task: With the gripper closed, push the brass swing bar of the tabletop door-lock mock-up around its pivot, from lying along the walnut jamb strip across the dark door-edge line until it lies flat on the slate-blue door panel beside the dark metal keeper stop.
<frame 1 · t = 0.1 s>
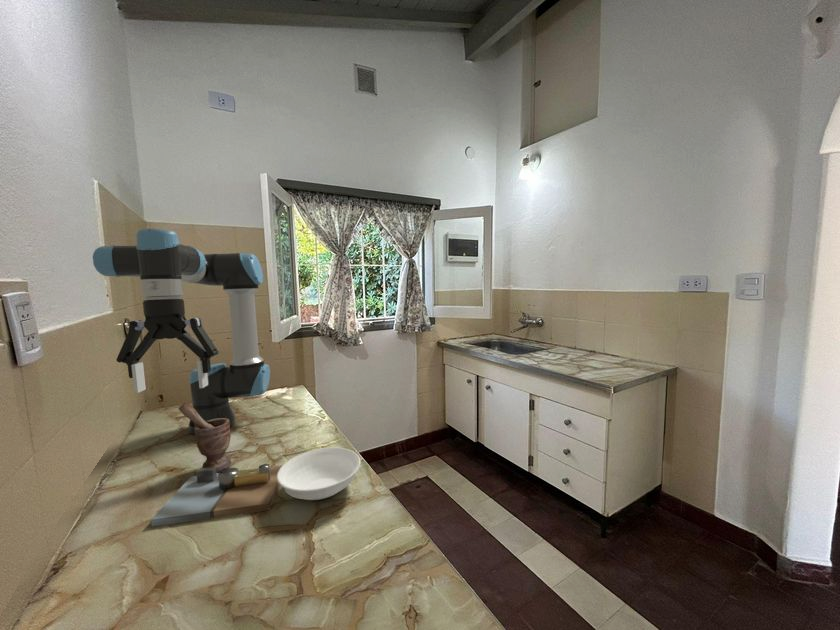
hand: (172, 389, 78), 28 cm above the countertop, fingers open, 13 cm apart
mortar and pestle: (210, 469, 95), on the countertop
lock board: (227, 494, 82), on the countertop
swing bar: (244, 475, 84), point 4 cm above the countertop, hinge at 0.0°
bowl: (321, 491, 83), on the countertop
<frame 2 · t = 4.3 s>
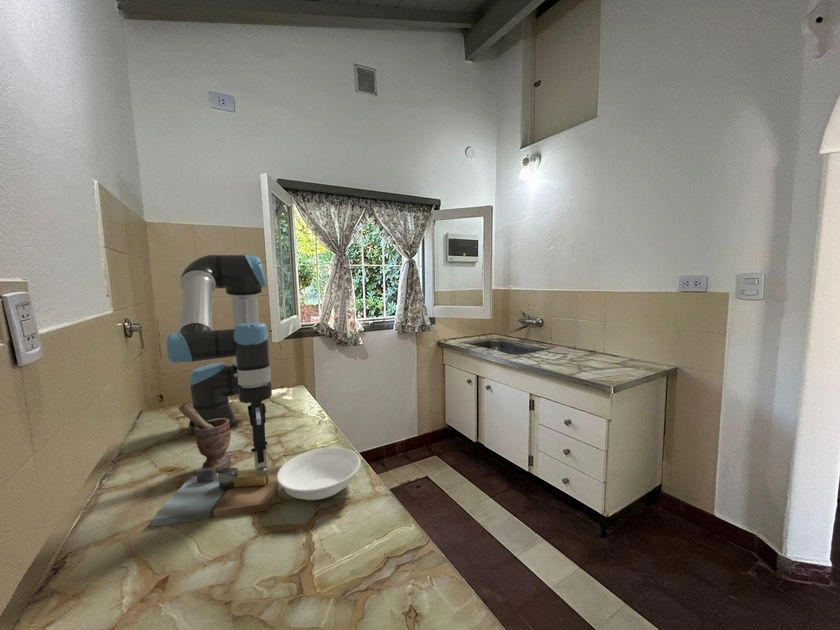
hand: (261, 472, 86), 3 cm above the countertop, fingers closed
swing bar: (243, 476, 83), point 4 cm above the countertop, hinge at 8.4°, touching gripper
everything else where it was.
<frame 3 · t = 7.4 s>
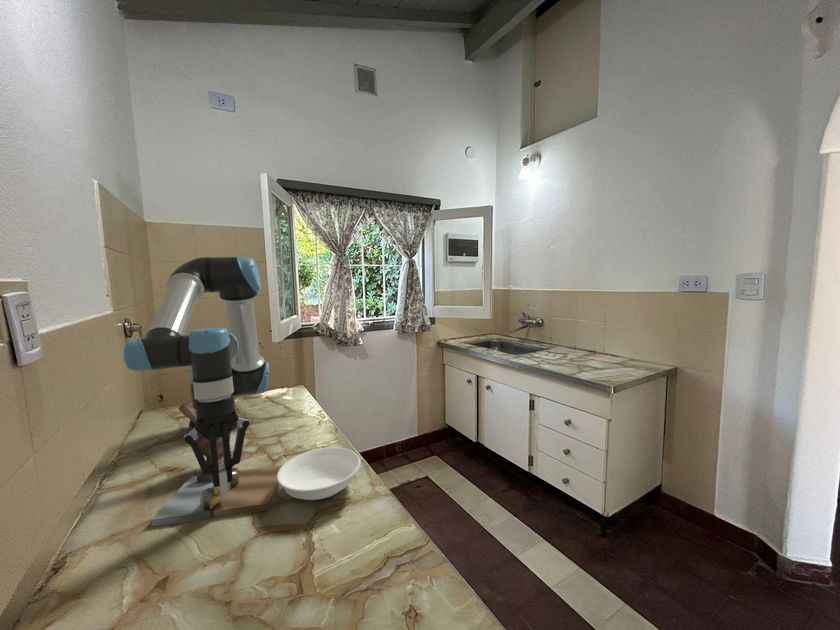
hand: (224, 496, 76), 3 cm above the countertop, fingers closed
swing bar: (220, 486, 80), point 4 cm above the countertop, hinge at 97.2°, touching gripper
everything else where it was.
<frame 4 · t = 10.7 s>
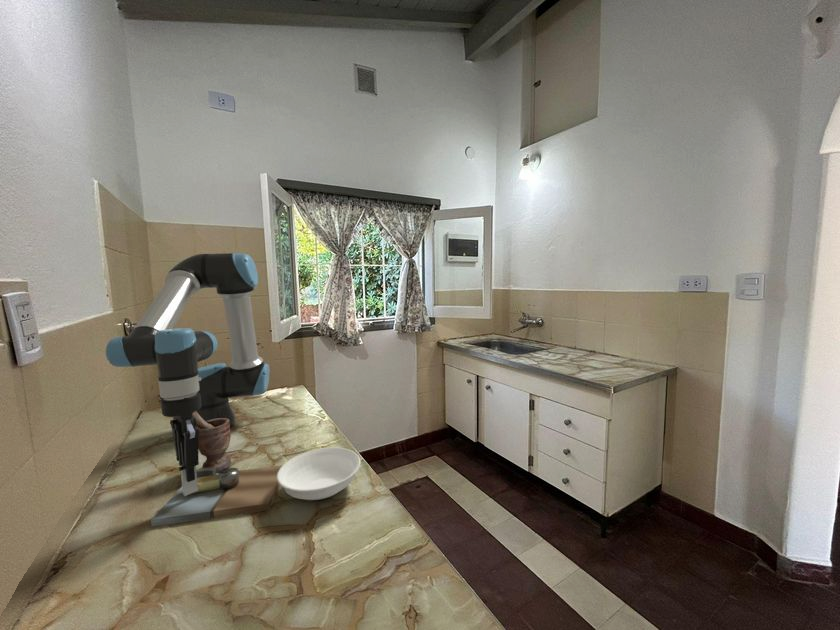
hand: (190, 492, 79), 3 cm above the countertop, fingers closed
swing bar: (211, 480, 82), point 4 cm above the countertop, hinge at 173.6°, touching gripper
everything else where it was.
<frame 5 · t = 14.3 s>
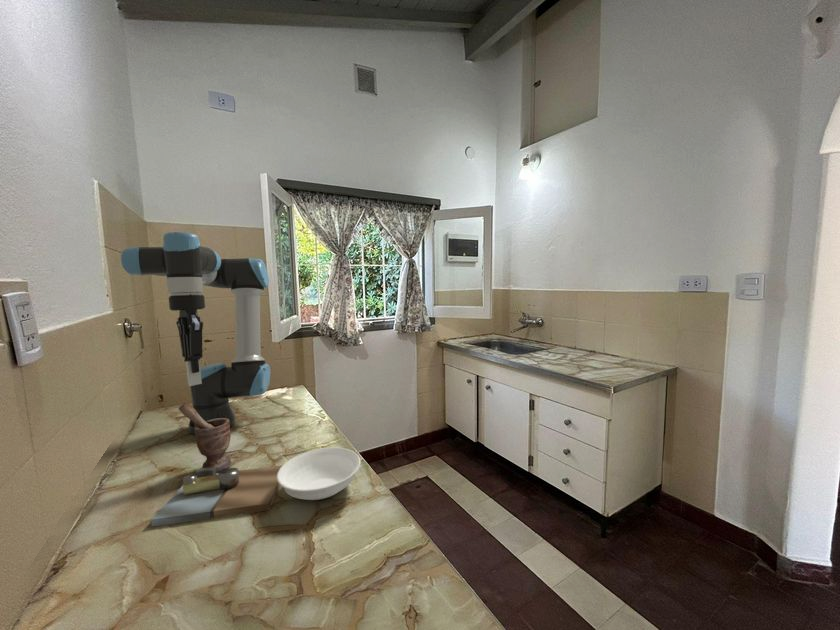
hand: (194, 384, 87), 26 cm above the countertop, fingers closed
swing bar: (211, 480, 82), point 4 cm above the countertop, hinge at 173.6°
everything else where it was.
at the end: swing bar at +174° (first picture: +0°) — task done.
